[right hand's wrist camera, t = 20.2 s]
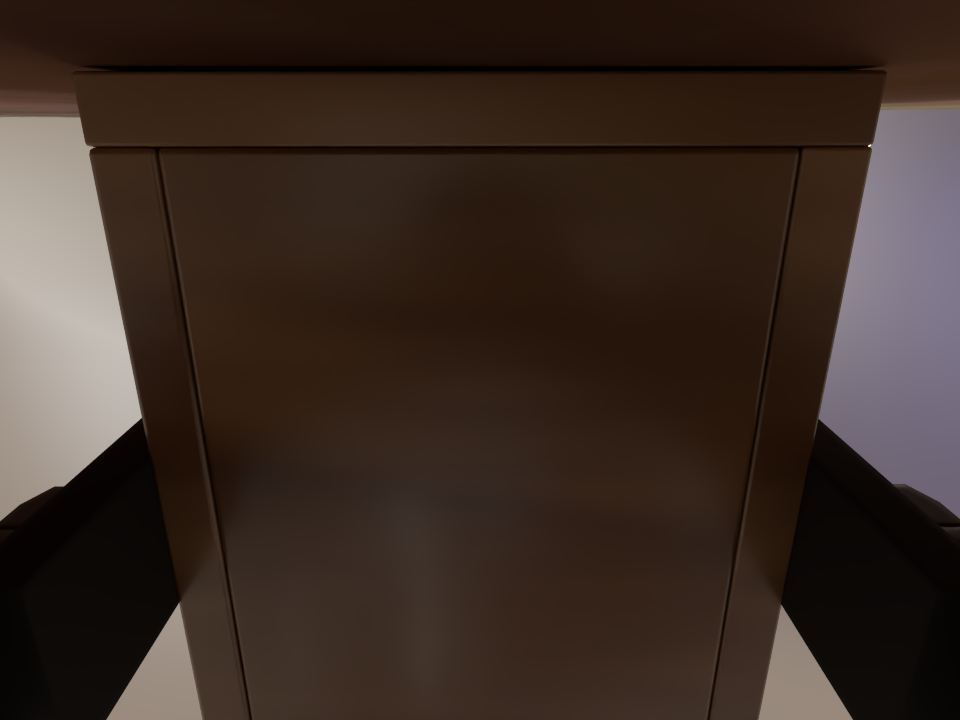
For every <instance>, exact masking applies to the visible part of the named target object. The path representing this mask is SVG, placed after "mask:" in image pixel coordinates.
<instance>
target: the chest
mask: <svg viewBox="0 0 960 720" xmlns="http://www.w3.org/2000/svg"><path fill="white" fill-rule="evenodd" d="M886 77H887V72H885V71H883V70H614V71H75V72H73V73H72V79H73V84H74V89H75V93H76V98H77V103H78V108H79V113H80V118H81V123H82V128H83V133H84V138H85V142H86V144H87V145H88V146H90V147H95V148H93V149H91V150H90V154H89V155H90V160H91V165H92V170H93V175H94V180H95V185H96V190H97V195H98V200H99V205H100V210H101V215H102V220H103V225H104V230H105V235H106V240H107V245H108V250H109V255H110V260H111V265H112V270H113V275H114V280H115V285H116V290H117V295H118V300H119V305H120V310H121V315H122V320H123V325H124V330H125V335H126V340H127V345H128V350H129V354H130V360H131V364H132V369H133V375H134V379H135V385H136V390H137V394H138V399H139V404H140V409H141V414H142V419H143V424H144V429H145V434H146V439H147V444H148V449H149V454H150V458H151V463H152V468H153V473H154V478H155V483H156V488H157V493H158V498H159V503H160V508H161V513H162V518H163V523H164V528H165V533H166V538H167V543H168V548H169V553H170V558H171V563H172V568H173V573H174V578H175V583H176V588H177V593H178V598H179V604H180V609H181V614H182V619H183V623H184V628H185V634H186V639H187V644H188V649H189V653H190V658H191V663H192V668H193V673H194V678H195V683H196V688H197V693H198V698H199V703H200V708H201V713H202V718H203V720H758V719H759V714H760V709H761V704H762V699H763V694H764V689H765V684H766V679H767V674H768V669H769V664H770V659H771V654H772V649H773V644H774V639H775V634H776V629H777V623H778V619H779V614H780V609H781V604H782V599H783V593H784V588H785V583H786V578H787V573H788V568H789V563H790V558H791V553H792V548H793V543H794V538H795V533H796V528H797V523H798V518H799V513H800V508H801V503H802V498H803V493H804V488H805V483H806V478H807V473H808V468H809V463H810V458H811V453H812V448H813V443H814V438H815V433H816V428H817V423H818V418H819V413H820V408H821V403H822V398H823V393H824V388H825V383H826V378H827V373H828V368H829V363H830V358H831V353H832V348H833V342H834V337H835V333H836V328H837V323H838V318H839V312H840V308H841V303H842V298H843V293H844V287H845V282H846V277H847V272H848V267H849V262H850V257H851V252H852V247H853V242H854V237H855V232H856V227H857V222H858V217H859V212H860V207H861V202H862V197H863V192H864V187H865V182H866V177H867V172H868V167H869V162H870V157H871V152H872V149H871V148H870V147H868V146H870V145H872V144H873V142H874V137H875V132H876V127H877V122H878V117H879V112H880V107H881V102H882V97H883V92H884V87H885V82H886Z"/></svg>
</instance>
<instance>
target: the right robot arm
mask: <svg viewBox="0 0 960 720" xmlns="http://www.w3.org/2000/svg"><path fill="white" fill-rule="evenodd" d="M178 603H179V598H178V593H177V588H176V583H175V578H174V573H173V568H172V563H171V558H170V553H169V548H168V543H167V538H166V533H165V528H164V523H163V518H162V513H161V508H160V503H159V498H158V493H157V488H156V483H155V478H154V473H153V468H152V463H151V458H150V454H149V449H148V444H147V439H146V434H145V429H144V424H143V419H142V418H141V419H140V420H139V421H138V422H137V423H136V424H134V425H133V426H132V427H131V428H130V429H129V430H128V431H127V432H125V433H124V434H123V435H122V436H121V437H120V438H119V439H117V440H116V441H115V442H114V443H113V444H112V445H111V446H110V447H108V448H107V449H106V450H105V451H104V452H103V453H102V454H100V455H99V456H98V457H97V458H96V459H95V460H94V461H93V462H91V463H90V464H89V465H88V466H87V467H86V468H85V469H83V470H82V471H81V472H80V473H79V474H78V475H77V476H75V477H74V478H73V479H72V480H71V481H70V482H69V483H68V484H66V485H65V486H64V487H53V488H51V489H49V490H47V491H45V492H43V493H41V494H40V495H38V496H36V497H34V498H32V499H30V500H28V501H26V502H24V503H22V504H20V505H19V506H18V507H17V508H16V509H14V510H13V511H12V512H11V513H10V514H8V515H7V516H6V517H5V518H4V519H2V520H1V521H0V720H106V719H107V718H108V716H109V714H110V713H111V711H112V709H113V708H114V706H115V705H116V703H117V701H118V700H119V698H120V697H121V695H122V693H123V692H124V690H125V689H126V687H127V685H128V684H129V682H130V681H131V679H132V677H133V676H134V674H135V673H136V671H137V669H138V668H139V666H140V664H141V663H142V661H143V660H144V658H145V656H146V655H147V653H148V652H149V650H150V648H151V647H152V645H153V644H154V642H155V640H156V639H157V637H158V636H159V634H160V632H161V631H162V629H163V628H164V626H165V624H166V623H167V621H168V620H169V618H170V616H171V615H172V613H173V611H174V610H175V608H176V607H177V605H178ZM781 605H782V606H783V608H784V609H785V611H786V613H787V614H788V616H789V617H790V619H791V621H792V622H793V624H794V626H795V627H796V629H797V630H798V632H799V634H800V635H801V637H802V638H803V640H804V642H805V643H806V645H807V646H808V648H809V650H810V651H811V653H812V654H813V656H814V658H815V659H816V661H817V662H818V664H819V666H820V667H821V669H822V671H823V672H824V674H825V675H826V677H827V679H828V680H829V682H830V683H831V685H832V687H833V688H834V690H835V691H836V693H837V695H838V696H839V698H840V699H841V701H842V703H843V704H844V706H845V708H846V709H847V711H848V712H849V714H850V716H851V717H852V719H853V720H960V519H959V518H958V517H957V516H955V515H954V514H953V513H952V512H951V511H950V510H948V509H947V508H946V507H945V506H944V505H942V504H941V503H940V502H938V501H936V500H934V499H932V498H931V497H929V496H927V495H925V494H923V493H921V492H919V491H917V490H915V489H913V488H911V487H909V486H907V485H905V484H892V483H891V482H889V481H888V480H887V479H886V478H885V477H884V476H883V475H881V474H880V473H879V472H878V471H877V470H876V469H875V468H874V467H872V466H871V465H870V464H869V463H868V462H867V461H866V460H864V459H863V458H862V457H861V456H860V455H859V454H858V453H857V452H855V451H854V450H853V449H852V448H851V447H850V446H849V445H847V444H846V443H845V442H844V441H843V440H842V439H841V438H839V437H838V436H837V435H836V434H835V433H834V432H833V431H831V430H830V429H829V428H828V427H827V426H826V425H825V424H824V423H822V422H821V421H820V420H819V419H818V423H817V428H816V433H815V438H814V443H813V448H812V453H811V458H810V463H809V468H808V473H807V478H806V483H805V488H804V493H803V498H802V503H801V508H800V513H799V518H798V523H797V528H796V533H795V538H794V543H793V548H792V553H791V558H790V563H789V568H788V573H787V578H786V583H785V588H784V593H783V599H782V604H781Z"/></svg>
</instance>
